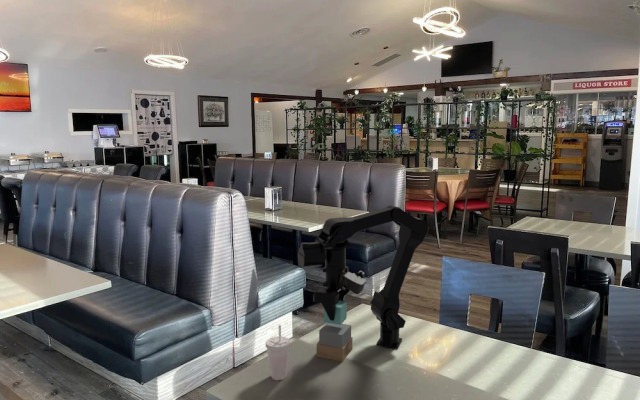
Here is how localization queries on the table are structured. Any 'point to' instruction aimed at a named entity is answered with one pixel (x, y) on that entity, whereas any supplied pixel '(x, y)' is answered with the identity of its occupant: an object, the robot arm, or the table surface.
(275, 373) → the smoothie
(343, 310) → the teal cube
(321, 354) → the tower base
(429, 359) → the table surface
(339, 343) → the tower top
